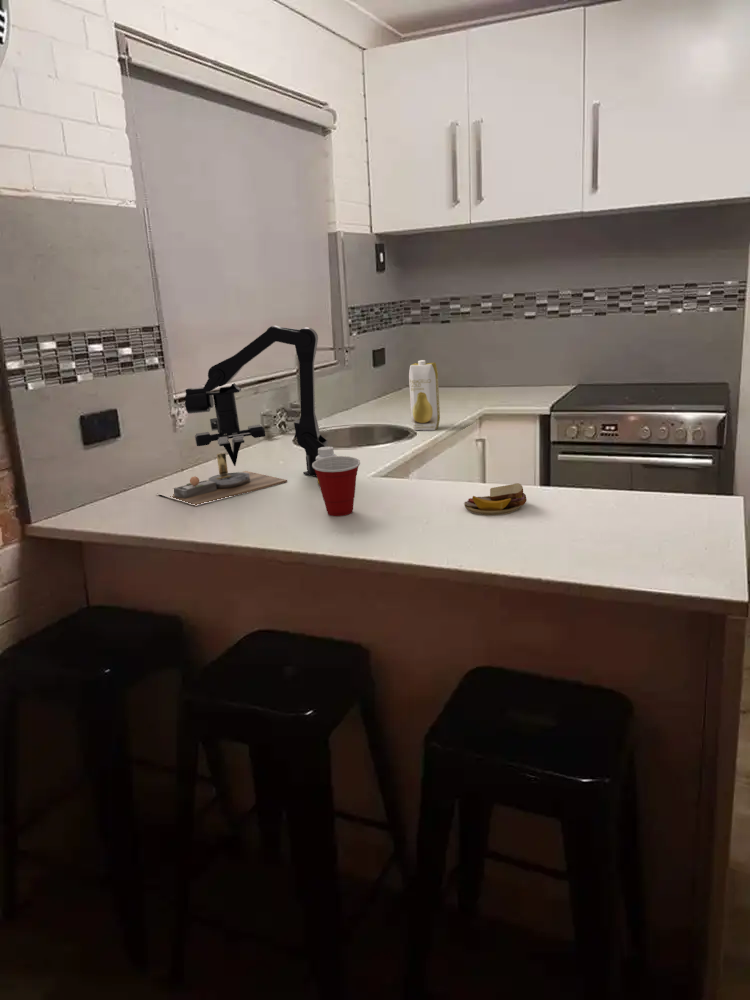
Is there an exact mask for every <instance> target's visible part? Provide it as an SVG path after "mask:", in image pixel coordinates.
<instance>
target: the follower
mask: <svg viewBox="0 0 750 1000" xmlns="http://www.w3.org/2000/svg"><path fill="white" fill-rule="evenodd" d="M204 481H205V480H204ZM199 482H201V481H200V479H199V477H198V476H196V475H195V476H191V477H190V479H189V483H191V485H189V486H185V485H184V486H185V487H182V489H183V490H187V489H191V488H195V486H198V485H207V484H211V483H215V482H213V481H207V480H206V481H205V482H201V483H199Z"/></svg>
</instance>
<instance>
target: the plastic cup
mask: <svg viewBox="0 0 750 1000" xmlns="http://www.w3.org/2000/svg"><path fill="white" fill-rule="evenodd" d="M360 465H361V460H360V459H359V458H357V457H353V456H346V455H345V456H343V455H338V456H335V457H327V458H322V459H319V460H316V461H315V462H313V463H312V467H313V468H314V470H315V472H316V474H317V477H316V478H318V479H317V482H318V481H319V484H320V487H319V488H320V491H321V496H322V498H323V502H324V505H325V509H326V513H327V515H328V516H333V517H343V516H348V515H351V514H352V513H353V512H354V511H353V510H354V501H355V495H356V494H355V493H356V485H357V475H358V471H359V470H358V469H359V466H360Z"/></svg>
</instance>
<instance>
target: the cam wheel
mask: <svg viewBox="0 0 750 1000" xmlns="http://www.w3.org/2000/svg"><path fill="white" fill-rule="evenodd" d="M216 459H217V466H218V467H217V468H218V474H216V475H212V476H210V477H208V480H209V481H213V482H215V483H216V488H220V489H221V488H232V487H237V486H241V485H244V484H246V483H248V482H250V475H249V473H246V472H243V471H237V472H229V470H228V461H227V454H226V452H219V453H217V454H216Z"/></svg>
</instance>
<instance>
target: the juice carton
mask: <svg viewBox="0 0 750 1000" xmlns="http://www.w3.org/2000/svg"><path fill="white" fill-rule="evenodd" d="M408 372H409V373H408V381H409V382H408V383H409V398H410V400H409V401H410V415H411V425H412V428H413V431H415V430H423V431H436V430H437V429H438V428H439V426H440V421H441V419H440V418H441V414H440V413H441V411H440V409H441V408H440V391H439V390H440V388H439V387H440V386H439V372H438V367H437V364H436V362H428V363H427V362H426V360H425V359H420V360H417V363H416V362H415V363H412V364H410V366H409V371H408Z"/></svg>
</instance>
